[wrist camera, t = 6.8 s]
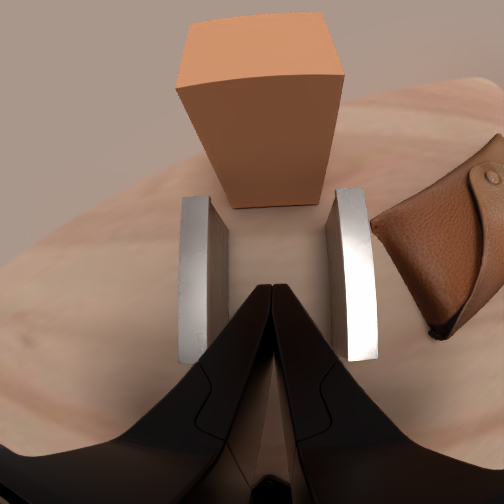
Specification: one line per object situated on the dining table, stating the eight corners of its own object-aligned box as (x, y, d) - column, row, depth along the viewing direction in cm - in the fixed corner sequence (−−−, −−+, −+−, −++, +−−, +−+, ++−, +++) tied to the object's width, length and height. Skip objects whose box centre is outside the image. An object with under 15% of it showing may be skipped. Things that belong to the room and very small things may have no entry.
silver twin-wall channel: (351, 348, 15) (377, 358, 10) (209, 352, 16) (178, 363, 11) (343, 224, 16) (363, 187, 12) (209, 231, 17) (182, 197, 13)
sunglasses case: (497, 125, 17) (554, 122, 10) (516, 196, 19) (569, 205, 12) (358, 225, 16) (436, 248, 10) (394, 313, 18) (457, 359, 12)
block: (318, 204, 17) (344, 75, 7) (232, 208, 17) (175, 88, 8) (311, 146, 18) (321, 12, 8) (233, 151, 18) (190, 24, 9)
